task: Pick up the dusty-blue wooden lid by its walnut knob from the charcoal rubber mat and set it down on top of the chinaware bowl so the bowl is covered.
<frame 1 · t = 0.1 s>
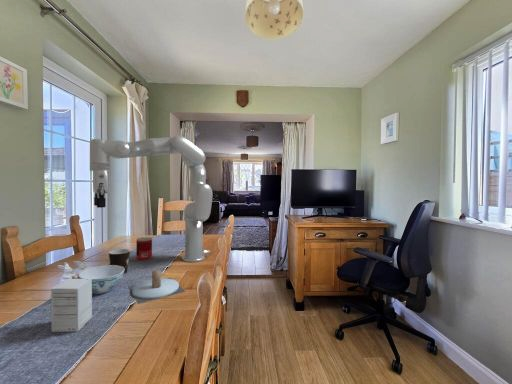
hand: (99, 206, 111), 31 cm above the table, tool pointing down, fingers open, 9 cm apart
lid: (156, 289, 99), point 1 cm above the table, touching mat
chinaware: (102, 291, 97), on the table
coffee mug: (121, 272, 118), on the table
mat: (156, 290, 99), on the table
canned food: (144, 258, 139), on the table
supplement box: (72, 325, 74), on the table
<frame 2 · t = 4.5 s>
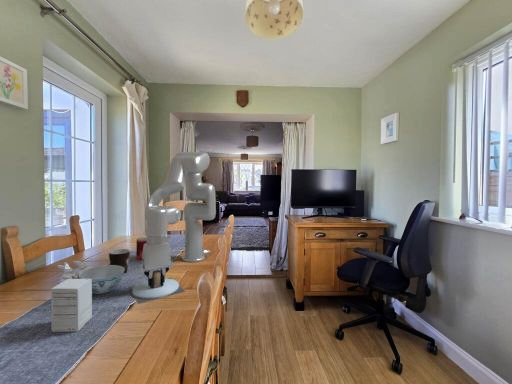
hand: (156, 285, 99), 2 cm above the table, tool pointing down, fingers closed on lid, 3 cm apart
lid: (156, 289, 99), point 1 cm above the table, touching gripper, mat
everything else where it was.
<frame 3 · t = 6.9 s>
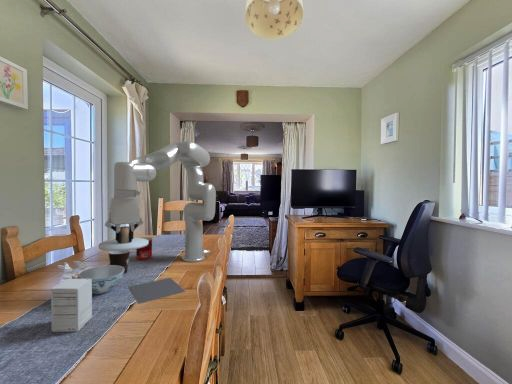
hand: (124, 241, 97), 20 cm above the table, tool pointing down, fingers closed on lid, 3 cm apart
lid: (124, 245, 97), point 18 cm above the table, touching gripper
everything else where it was.
when the fingers open (11 cm above the table, at t = 9.6 s): lid drops 2 cm, resting on chinaware.
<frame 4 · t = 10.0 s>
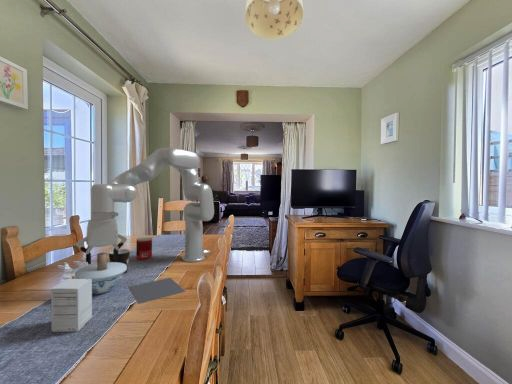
hand: (102, 261, 96), 12 cm above the table, tool pointing down, fingers open, 8 cm apart
lid: (102, 271, 97), point 8 cm above the table, touching chinaware
chinaware: (102, 291, 97), on the table, touching lid
everything else where it was.
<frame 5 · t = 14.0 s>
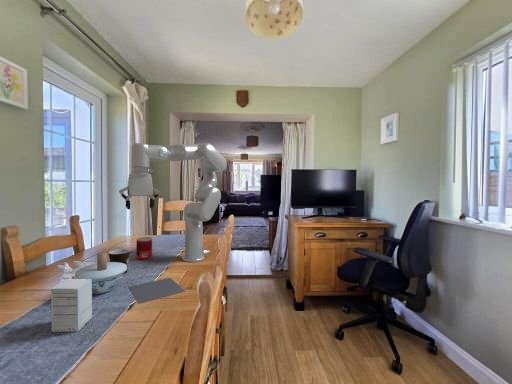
hand: (140, 208, 114), 30 cm above the table, tool pointing down, fingers open, 9 cm apart
nothing on the table moved.
at the end: lid inside the target area on the chinaware (0.1 cm from its centre), point 7.9 cm above the chinaware's base; lid tilted 0°; the gripper is holding nothing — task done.
